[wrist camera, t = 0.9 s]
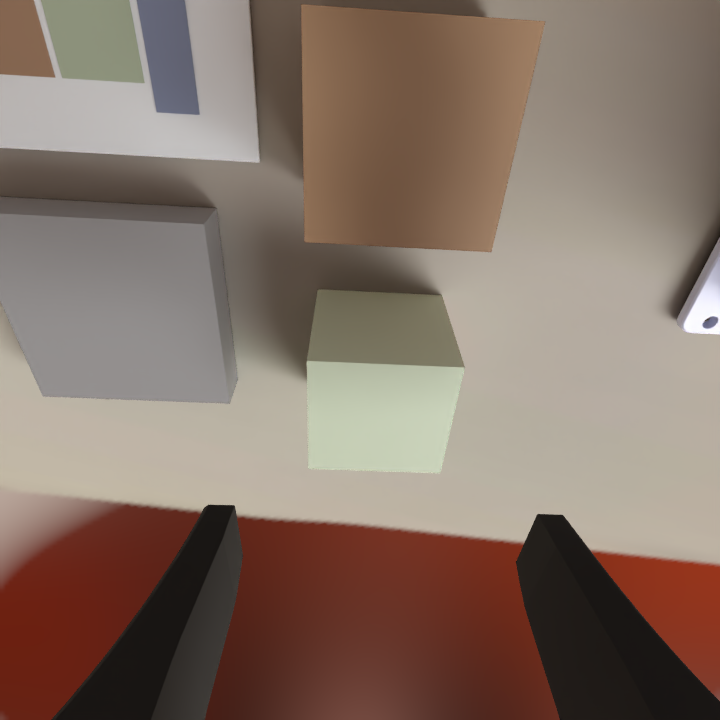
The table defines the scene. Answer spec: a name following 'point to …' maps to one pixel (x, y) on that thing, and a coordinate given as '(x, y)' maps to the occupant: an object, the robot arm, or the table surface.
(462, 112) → the block
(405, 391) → the block
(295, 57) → the table surface
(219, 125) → the blueprint sheet
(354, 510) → the table surface
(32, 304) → the slab
